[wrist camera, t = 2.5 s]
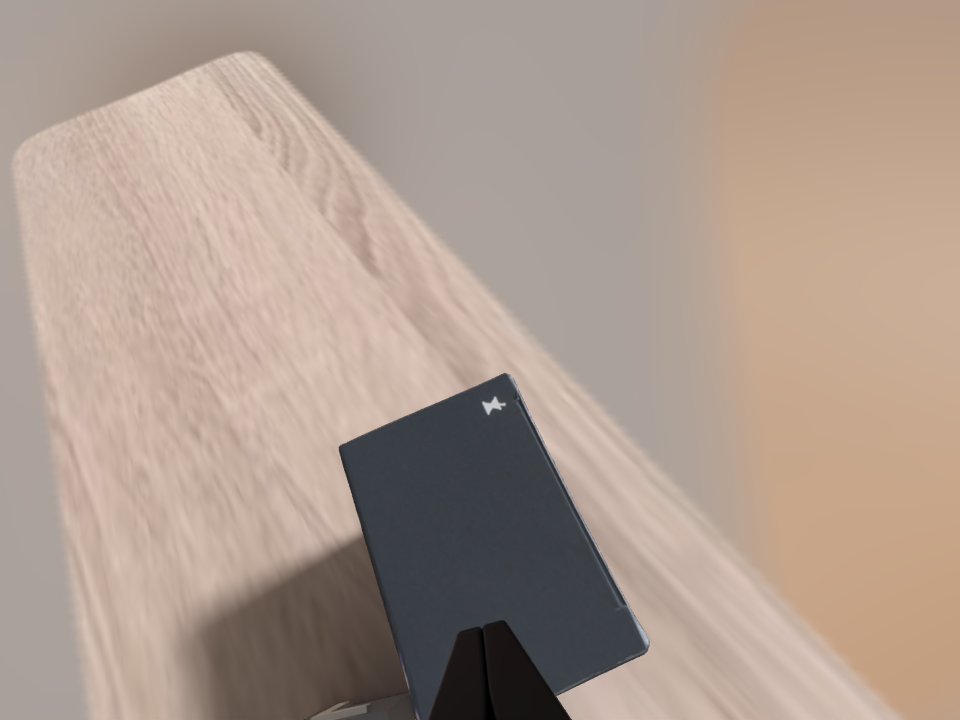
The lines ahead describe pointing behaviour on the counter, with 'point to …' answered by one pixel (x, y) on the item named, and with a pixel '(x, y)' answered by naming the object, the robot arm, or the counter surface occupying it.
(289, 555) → the counter surface
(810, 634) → the counter surface
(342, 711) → the marked cube seven
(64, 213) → the counter surface
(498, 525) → the box
